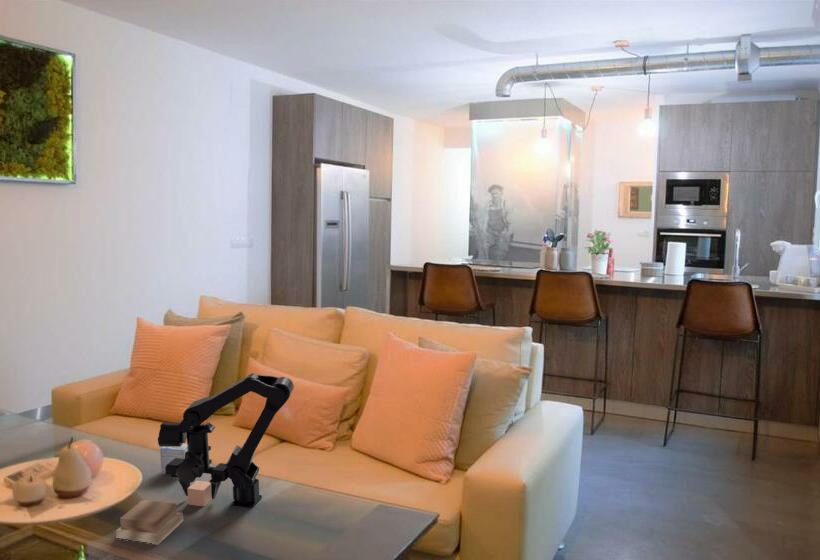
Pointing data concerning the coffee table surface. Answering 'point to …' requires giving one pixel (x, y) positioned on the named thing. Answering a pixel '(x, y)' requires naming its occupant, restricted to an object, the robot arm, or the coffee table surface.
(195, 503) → the terracotta block
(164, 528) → the birch slab
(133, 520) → the walnut slab
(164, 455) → the medicine box
